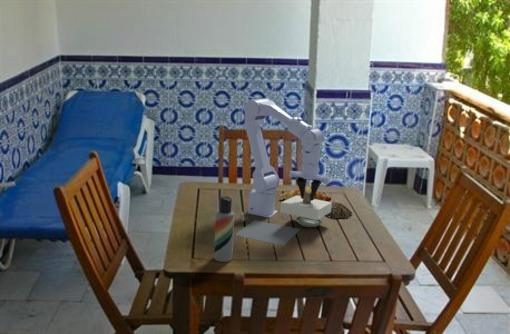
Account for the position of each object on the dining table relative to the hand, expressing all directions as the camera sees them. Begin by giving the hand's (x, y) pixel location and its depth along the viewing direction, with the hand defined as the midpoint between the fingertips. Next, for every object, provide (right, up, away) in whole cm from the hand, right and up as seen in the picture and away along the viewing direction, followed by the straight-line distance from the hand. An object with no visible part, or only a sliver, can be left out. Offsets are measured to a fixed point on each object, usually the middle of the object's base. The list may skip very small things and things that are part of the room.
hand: (307, 198), depth 199 cm
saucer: (+1, -10, +4) cm, 11 cm away
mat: (-14, -12, -6) cm, 19 cm away
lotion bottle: (-29, -17, -28) cm, 44 cm away
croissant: (+2, -3, +30) cm, 30 cm away
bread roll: (+13, -7, +18) cm, 23 cm away
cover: (-1, -5, +1) cm, 5 cm away
